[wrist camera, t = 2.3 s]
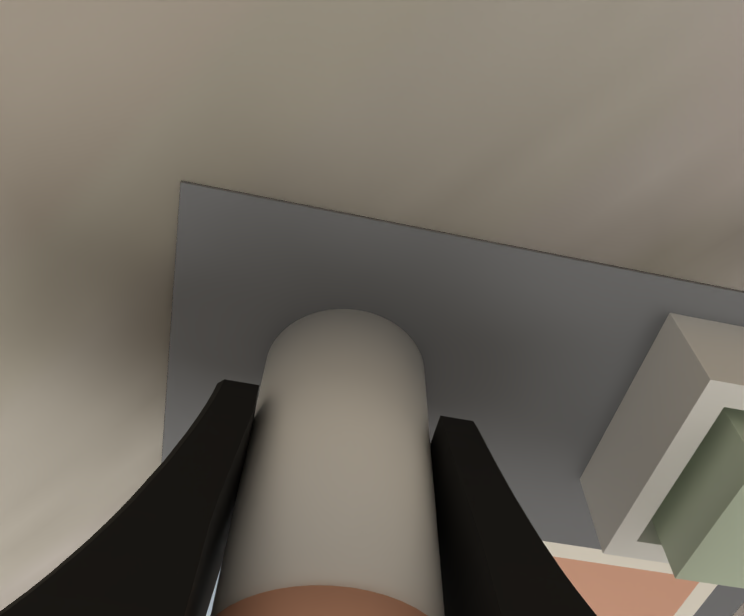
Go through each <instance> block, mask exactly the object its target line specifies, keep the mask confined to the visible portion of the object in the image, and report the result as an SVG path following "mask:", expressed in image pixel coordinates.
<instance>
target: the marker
mask: <svg viewBox="0 0 744 616" xmlns="http://www.w3.org/2000/svg"><path fill="white" fill-rule="evenodd" d="M210 616H445V613H444V601H443V589H442V577H441V565H440V553H439V541H438V529H437V517H436V505H435V493H434V481H433V469H432V457H431V445H430V433H429V421H428V408H427V396H426V384H425V372H424V363H423V360H422V356H421V354H420V352H419V349H418V347H417V346H416V344H415V343H414V341H413V340H412V339H411V338H410V336H409V335H408V334H407V333H406V332H405V331H403V330H402V329H401V328H400V327H399V326H397V325H396V324H394V323H393V322H391V321H389V320H387V319H385V318H383V317H381V316H378V315H376V314H373V313H369V312H365V311H361V310H353V309H332V310H325V311H320V312H316V313H313V314H310V315H307V316H305V317H303V318H301V319H299V320H297V321H295V322H294V323H292V324H291V325H289V326H288V327H287V328H286V329H284V330H283V331H282V332H281V333H280V334H279V336H278V337H277V338H276V339H275V341H274V342H273V344H272V345H271V348H270V350H269V352H268V355H267V359H266V363H265V368H264V373H263V377H262V382H261V386H260V391H259V396H258V400H257V405H256V409H255V415H254V421H253V425H252V430H251V435H250V439H249V444H248V448H247V453H246V458H245V462H244V465H243V470H242V474H241V478H240V483H239V487H238V492H237V496H236V501H235V505H234V510H233V515H232V519H231V524H230V528H229V533H228V537H227V542H226V547H225V551H224V556H223V560H222V565H221V570H220V574H219V579H218V583H217V588H216V592H215V597H214V602H213V606H212V611H211V615H210Z"/></svg>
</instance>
